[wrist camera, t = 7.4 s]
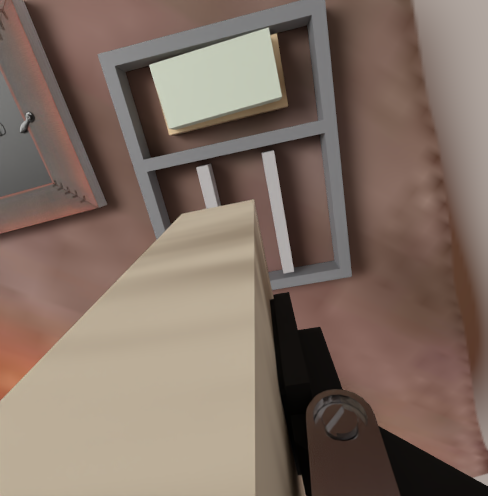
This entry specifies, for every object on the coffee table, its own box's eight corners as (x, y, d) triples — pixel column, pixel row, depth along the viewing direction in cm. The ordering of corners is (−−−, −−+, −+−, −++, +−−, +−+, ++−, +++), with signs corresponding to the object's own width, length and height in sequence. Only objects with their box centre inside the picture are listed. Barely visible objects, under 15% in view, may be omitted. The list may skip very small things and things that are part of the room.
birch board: (181, 213, 12) (-773, 1194, 1) (254, 199, 12) (259, 1398, 1) (225, 368, 15) (135, 1105, 3) (285, 359, 14) (398, 1133, 3)
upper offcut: (157, 71, 23) (148, 64, 21) (267, 37, 22) (268, 27, 20) (175, 129, 25) (168, 128, 23) (279, 100, 24) (281, 96, 22)
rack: (109, 61, 24) (97, 54, 22) (318, 6, 23) (324, -6, 21) (182, 296, 31) (178, 305, 29) (345, 267, 30) (351, 276, 28)
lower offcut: (157, 73, 25) (150, 67, 23) (274, 42, 24) (276, 33, 22) (175, 135, 27) (169, 135, 25) (285, 108, 26) (288, 105, 24)
